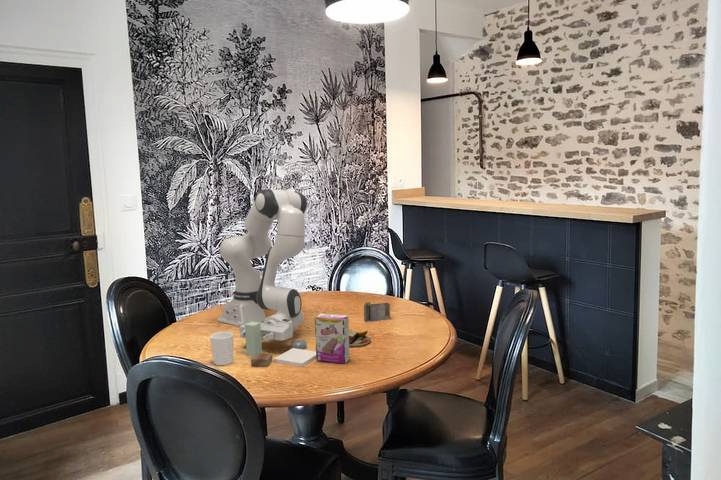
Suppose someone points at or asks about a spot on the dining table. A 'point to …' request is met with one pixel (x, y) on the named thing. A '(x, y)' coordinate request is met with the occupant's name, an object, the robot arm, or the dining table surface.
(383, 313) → the dark grey piece
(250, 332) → the sage block
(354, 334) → the toy sandwich meal
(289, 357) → the plate
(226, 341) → the white cup
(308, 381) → the dining table surface
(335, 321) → the candy bar box
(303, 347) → the grey domed disc
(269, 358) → the walnut block
